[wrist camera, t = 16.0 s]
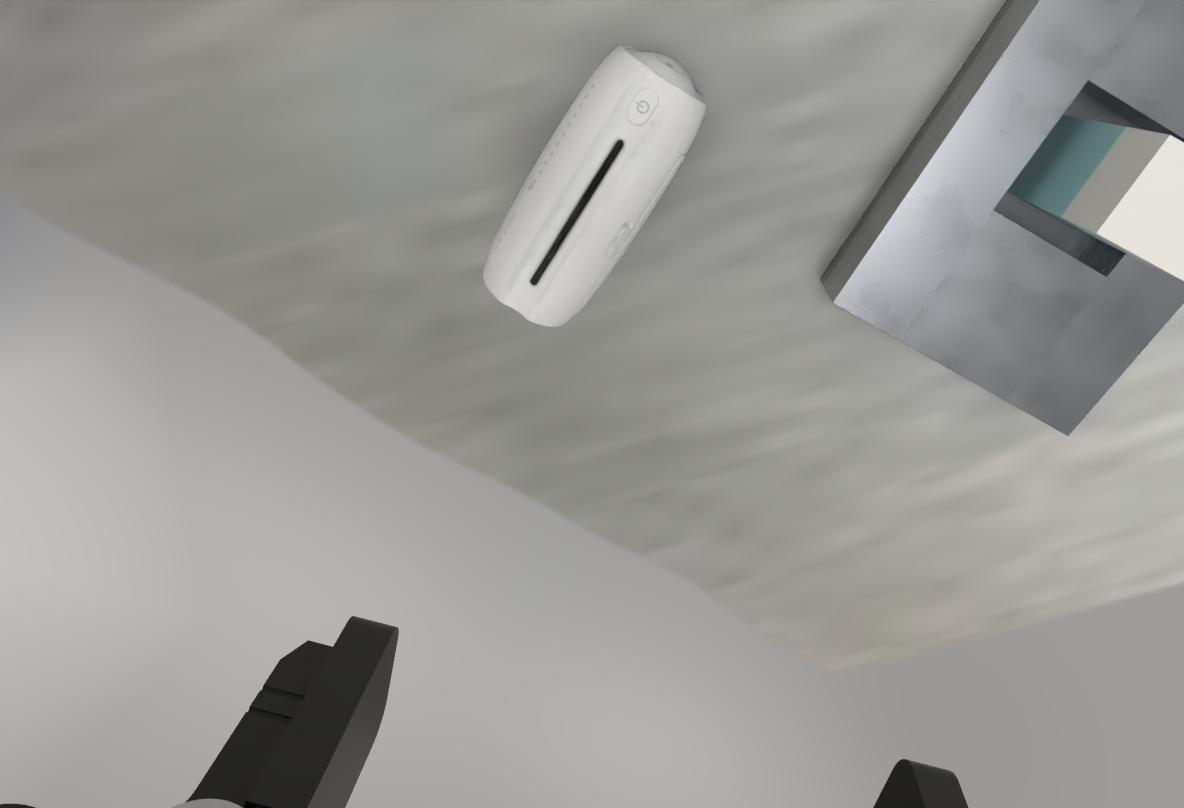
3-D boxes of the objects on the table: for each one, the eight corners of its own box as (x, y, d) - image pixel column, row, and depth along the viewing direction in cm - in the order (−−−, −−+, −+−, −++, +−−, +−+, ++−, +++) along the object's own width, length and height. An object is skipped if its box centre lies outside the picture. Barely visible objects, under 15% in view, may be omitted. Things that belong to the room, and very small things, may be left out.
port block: (820, 279, 40) (832, 302, 37) (1086, -120, 33) (1135, -140, 30) (1034, 401, 41) (1068, 436, 38) (1336, 40, 34) (1412, 39, 31)
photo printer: (635, 28, 37) (610, 21, 26) (718, 86, 38) (728, 104, 26) (515, 229, 41) (446, 299, 30) (591, 279, 41) (552, 367, 30)
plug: (1006, 191, 37) (1096, 233, 29) (1059, 114, 36) (1170, 134, 27) (1075, 229, 37) (1185, 281, 29) (1131, 154, 36) (1261, 186, 28)
